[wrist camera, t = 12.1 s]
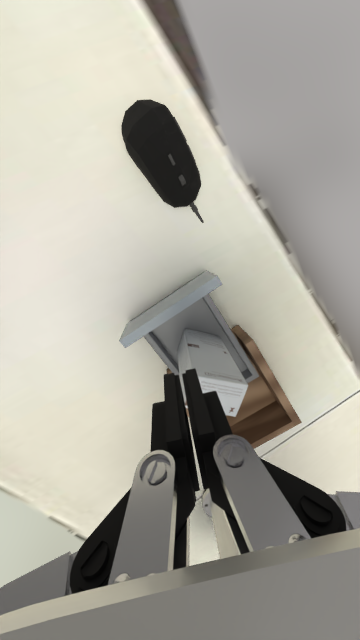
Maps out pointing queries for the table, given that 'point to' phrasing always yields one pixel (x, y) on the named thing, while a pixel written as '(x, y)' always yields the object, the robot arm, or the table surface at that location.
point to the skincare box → (212, 368)
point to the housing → (260, 400)
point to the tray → (186, 324)
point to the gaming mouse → (161, 153)
